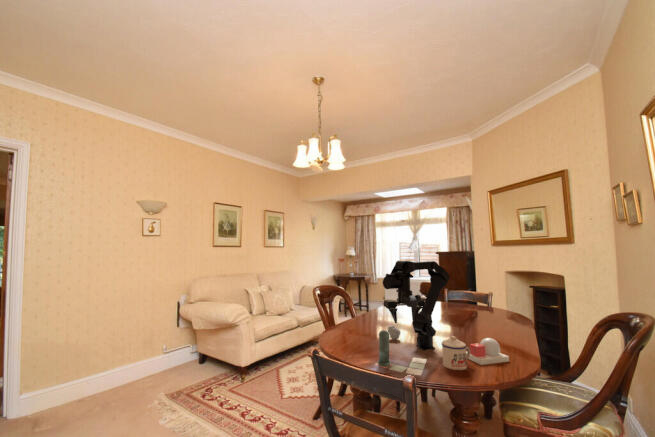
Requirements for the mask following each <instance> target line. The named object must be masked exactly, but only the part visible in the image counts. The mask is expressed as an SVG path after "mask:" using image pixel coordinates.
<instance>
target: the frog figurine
mask: <svg viewBox="0 0 655 437" xmlns="http://www.w3.org/2000/svg"><path fill="white" fill-rule="evenodd" d="M386 331H387V332H388V333H389V338H390V339H392V340H393V341H396V340H399V338H400V335H401V330H400V329H399V328H398V327H396V326H395V325H393V324H392V325H390V326H388V327H387V329H386Z"/></svg>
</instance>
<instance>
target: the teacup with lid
mask: <svg viewBox="0 0 655 437" xmlns="http://www.w3.org/2000/svg"><path fill="white" fill-rule="evenodd" d="M441 348H442V349H441V350H442V365H443V367H445V368H447V369H449V370H454V371H456V370H457V371H464V370H468V369H467V368H468V367H467V366H468V363H467V360H469V359H468V358H469V357H470V347H468V346H467V345H466V343H465V342H463V341H460V340H459V339H457V337H456V336H454V335H452V336H451V335H450V338H447V339H446V340H442V342H441ZM466 351H467V355H466Z"/></svg>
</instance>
